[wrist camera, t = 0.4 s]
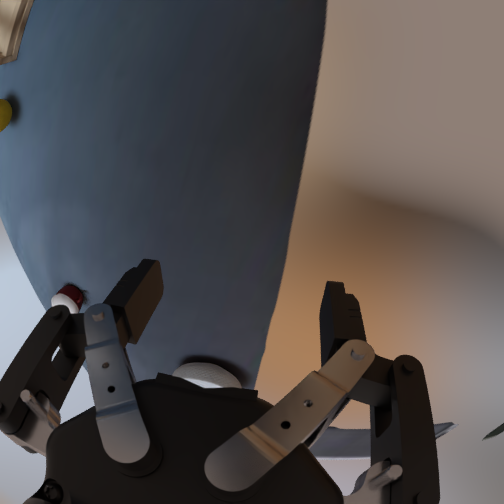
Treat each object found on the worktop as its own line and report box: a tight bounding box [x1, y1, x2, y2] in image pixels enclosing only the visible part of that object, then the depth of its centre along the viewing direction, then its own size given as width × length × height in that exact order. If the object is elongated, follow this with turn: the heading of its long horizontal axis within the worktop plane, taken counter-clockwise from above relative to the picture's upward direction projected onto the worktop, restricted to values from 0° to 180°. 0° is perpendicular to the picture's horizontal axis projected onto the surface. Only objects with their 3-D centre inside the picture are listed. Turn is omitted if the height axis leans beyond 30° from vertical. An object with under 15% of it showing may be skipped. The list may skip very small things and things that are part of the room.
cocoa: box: [51, 285, 83, 314], centre depth 51 cm, size 10×6×12 cm, turn 86°
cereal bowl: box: [172, 362, 242, 388], centre depth 63 cm, size 17×17×7 cm
